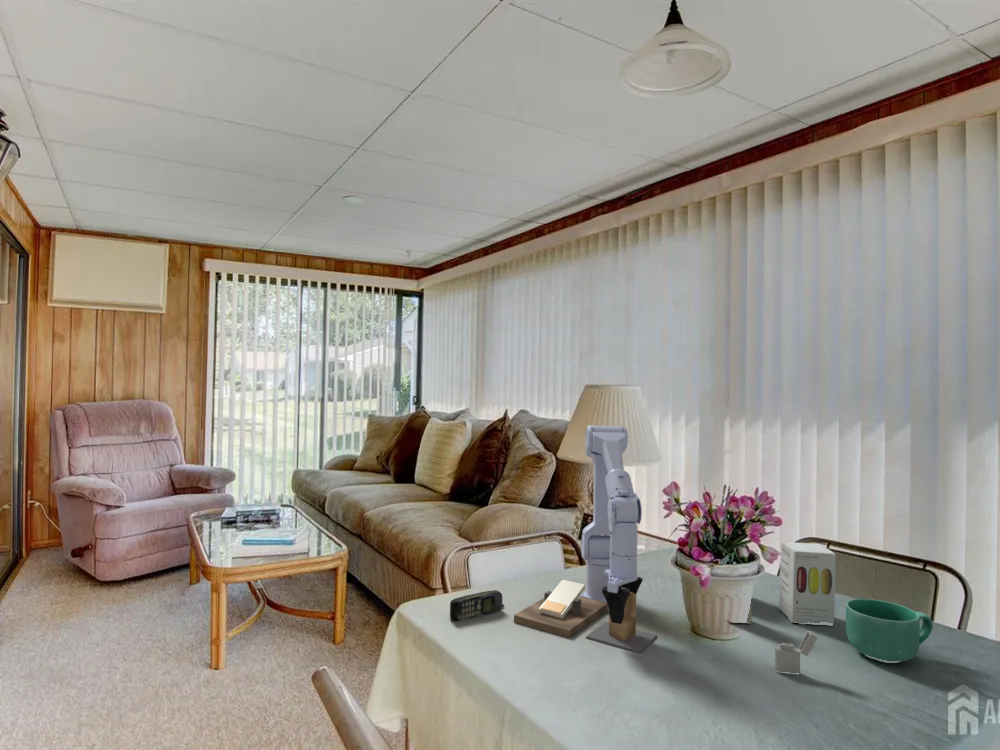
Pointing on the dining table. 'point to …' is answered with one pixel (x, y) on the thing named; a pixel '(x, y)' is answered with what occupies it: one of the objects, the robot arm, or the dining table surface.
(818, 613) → the supplement box
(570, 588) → the white two-tone slab
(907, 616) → the mug
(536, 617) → the switch panel
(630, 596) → the wood grain block
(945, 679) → the dining table surface
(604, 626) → the rest mat
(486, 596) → the mobile phone
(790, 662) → the lighter
